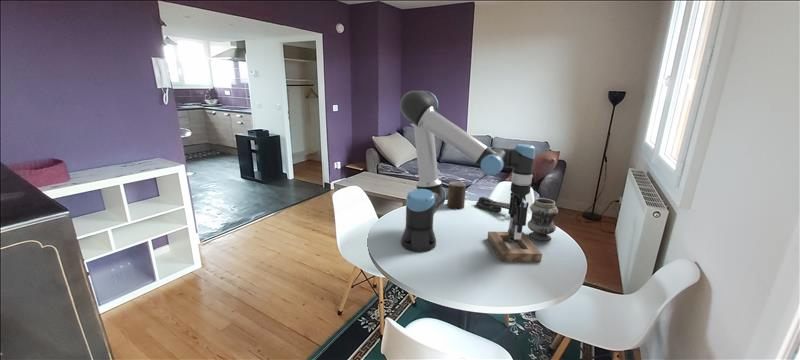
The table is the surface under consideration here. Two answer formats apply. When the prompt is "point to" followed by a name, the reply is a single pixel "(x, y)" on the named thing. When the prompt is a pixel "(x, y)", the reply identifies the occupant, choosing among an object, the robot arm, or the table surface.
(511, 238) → the stone chess piece
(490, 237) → the block
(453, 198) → the pillar candle
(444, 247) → the table surface
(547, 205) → the apothecary jar
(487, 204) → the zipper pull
